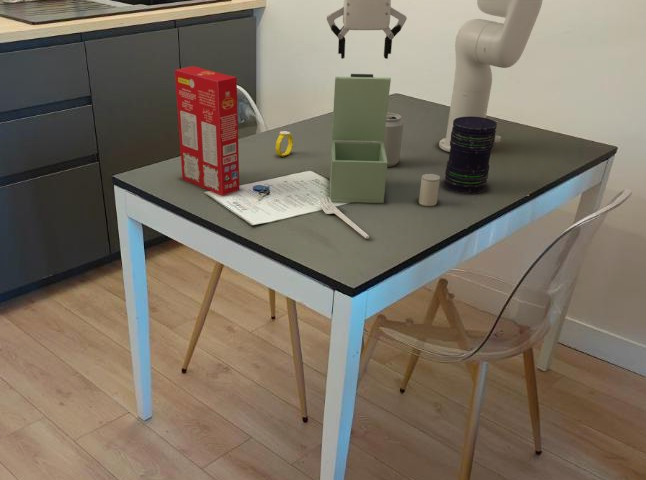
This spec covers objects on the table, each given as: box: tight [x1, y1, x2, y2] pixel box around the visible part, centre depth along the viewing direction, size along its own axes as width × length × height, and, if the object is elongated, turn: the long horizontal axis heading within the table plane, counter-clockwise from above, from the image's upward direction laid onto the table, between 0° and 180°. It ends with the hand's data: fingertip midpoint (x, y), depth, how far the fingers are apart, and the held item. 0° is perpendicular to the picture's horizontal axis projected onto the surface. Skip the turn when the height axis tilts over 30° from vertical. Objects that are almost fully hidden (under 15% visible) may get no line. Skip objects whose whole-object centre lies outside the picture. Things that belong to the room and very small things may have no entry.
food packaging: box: [174, 65, 240, 196], centre depth 159 cm, size 15×5×25 cm, turn 44°
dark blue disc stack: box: [443, 117, 498, 195], centre depth 162 cm, size 10×10×15 cm
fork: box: [318, 196, 370, 239], centre depth 148 cm, size 3×20×2 cm, turn 24°
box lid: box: [331, 73, 392, 142], centre depth 160 cm, size 15×12×6 cm
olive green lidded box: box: [329, 140, 388, 204], centre depth 161 cm, size 14×12×9 cm
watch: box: [275, 130, 294, 157], centre depth 183 cm, size 6×3×6 cm, turn 144°
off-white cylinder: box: [418, 173, 441, 207], centre depth 156 cm, size 4×4×6 cm
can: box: [371, 112, 404, 168], centre depth 176 cm, size 8×8×12 cm
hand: (364, 57), depth 157 cm, fingers open, 9 cm apart
